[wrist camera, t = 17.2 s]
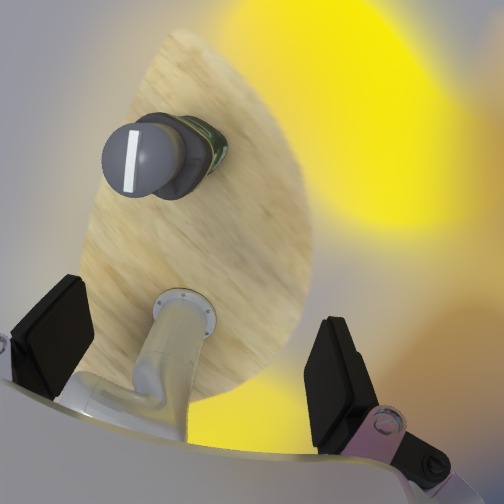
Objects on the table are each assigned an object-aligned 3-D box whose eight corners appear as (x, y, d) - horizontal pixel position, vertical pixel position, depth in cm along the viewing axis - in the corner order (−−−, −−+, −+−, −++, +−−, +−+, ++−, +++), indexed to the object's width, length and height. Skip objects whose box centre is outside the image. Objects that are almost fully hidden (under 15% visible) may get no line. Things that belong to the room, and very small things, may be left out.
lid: (131, 120, 23) (102, 121, 18) (190, 126, 24) (172, 126, 18) (124, 181, 26) (96, 194, 21) (181, 189, 26) (162, 205, 21)
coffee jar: (158, 151, 42) (99, 167, 25) (185, 109, 39) (137, 98, 22) (207, 183, 44) (175, 218, 27) (236, 142, 41) (220, 150, 24)
